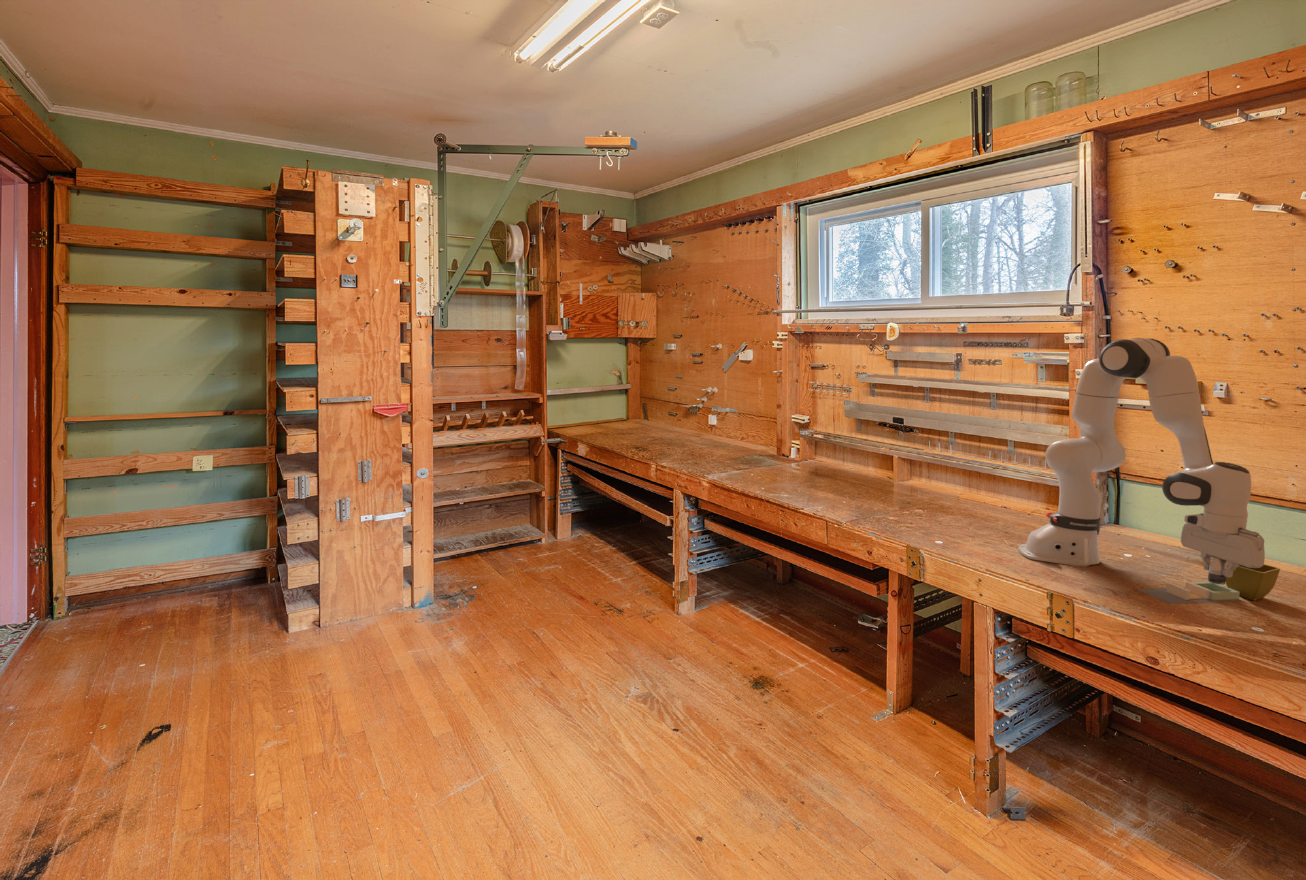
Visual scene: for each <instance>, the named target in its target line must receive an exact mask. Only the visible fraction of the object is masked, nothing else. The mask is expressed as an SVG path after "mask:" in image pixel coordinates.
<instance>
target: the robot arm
mask: <svg viewBox="0 0 1306 880" xmlns="http://www.w3.org/2000/svg"><path fill="white" fill-rule="evenodd" d="M1127 378H1128V379H1129V378H1130V379H1139V378H1140V379H1142V380H1143V381H1144V382H1145V384H1146V387H1147V391H1148V392H1147V393H1148V398H1149V399H1148V400H1149V401H1148V402H1149V407H1150V410H1151V413H1152V415H1153V418H1154V420H1155V421H1156V422H1157V423H1158V424H1159V425H1161V426H1163V427H1165V428H1167V429H1168V430H1169V431H1170V432H1172V433H1173V435H1174V436H1176V437H1175V438H1177V442H1178V444H1179V448H1180V453H1181V457H1182V461H1183V470H1180V471H1176V472H1174V473H1171V474H1169V475H1168V476H1167V477H1166V478H1164V480H1163V483H1162V486H1161V487H1162V488H1161V489H1162V492H1163V495H1164V496H1165V498H1166V499H1167V500H1168V501H1169V502H1171V503H1173V504H1175V505H1179V506H1185V507H1187V506H1189V507H1190V506H1201V507H1203V513H1197V514H1185V515H1184V517H1183V521H1184V522H1185V523H1184V524H1183V526H1182V530H1181V534H1180V543H1181V545H1182V546H1183V547H1184V548H1186V549H1190V550H1192V551H1195V552H1200V558H1201V561H1202V562H1203V569H1204V570H1205V571H1207V572H1209V566H1210V558H1211V556H1214V557H1217V558H1220V559H1223V560H1227V565H1229V566H1228V567H1227V568H1226V569H1222V573H1221V575H1222V576H1225V577H1232V576H1233V571H1234V570H1235V569H1236V568H1237V567H1238V566H1239V565H1242V566H1245V567H1248V568H1260V567H1262V566H1263V565H1264V564H1265V553H1266V551H1265V538H1263V535H1261V533H1259V532H1257V531H1252V530H1250V529H1247V526H1248V525H1247V523H1248V518H1249V517H1248V516H1249V513H1248V504H1249V502H1250V500H1251V494H1252V493H1251V492H1252V476H1251V473H1250V471H1249V469H1247V468H1246V467H1243V466H1241V465H1239V464H1235V463H1231V462H1226V461H1217V462H1213V457H1212V453H1211V449H1210V445H1209V440H1208V435H1207V431H1206V428H1205V425H1204V423H1205V422H1204V418H1203V410H1202V402H1201V395H1200V387H1199V384H1198V380H1197V379H1198V378H1197V377H1196V372H1195V371H1194V367H1193V366H1192V363H1191V361H1190V360H1189V359H1188V358H1186V357H1184V356H1181V355H1180V356H1179V355H1171V351H1170V349H1169V348H1168V346H1167V345H1166V344H1165V343H1164V342H1163V341H1160V340H1159V339H1154V338H1146V337H1145V338H1144V337H1133V338H1127V339H1118V340H1115V341H1112V342H1109V343H1108V344H1107V345H1105V346H1104V347H1103V348H1102V350H1101V352H1100V354H1099V358H1095V359H1091V360H1089V361H1087V362H1086V363H1085V364H1084V366H1083V369H1082V371H1081V373H1080V376H1079V379H1078V383H1077V386H1076V390H1075V395H1074V399H1073V407H1072V411H1071V417H1072V420H1073V422H1075V423H1077V425H1078V428H1079V433H1080V435H1079V437H1078V438H1074V437H1073V438H1064V439H1061V440H1057V441H1055V442H1052V443H1051V444H1049V445H1048V446H1047V447H1046V450H1045V456H1044V458H1045V462H1046V464H1047V466H1048V467H1049V468H1050V470H1051V471H1053V472H1054V474H1055V475H1056V479H1057V482H1058V486H1059V495H1058V496H1059V498H1058V509H1057V511H1056V512H1054V513H1053V512H1052V511H1050V510H1049V511H1048V510H1047V512H1046V513H1045V516H1046V517H1047V519H1049V523H1047V524H1045V525H1042V526H1041V527H1038V528H1037V529H1034V530H1032V531H1031V532H1030V533H1029V535H1028V538H1027V540H1026V543H1024V544H1023V543H1022V544H1020V545H1019V546H1018V548H1017V549H1018V552H1019V553H1020V554H1021V555H1022V556H1024V557H1025V558H1028V559H1030V560H1033V561H1039V562H1049V563H1054V564H1060V565H1061V564H1062V565H1068V566H1069V565H1070V566H1075V567H1088V566H1092V565H1093V566H1094V565H1098V564H1100V563H1101V558H1100V553H1099V539H1098V536H1099V534H1100V530H1101V517H1100V513H1101V505H1102V493H1101V491H1100V490H1099V489H1098V488H1097V487H1096V486H1095V485H1094V482H1093V476H1092V475H1093V473H1105V472H1107V471H1112V470H1114V469H1117V468H1119V467H1121V466H1122V465H1123V464H1124V462H1125V460H1126V449H1125V447H1124V445H1123V444H1122V443H1121V442H1120V441H1119V438H1118V437H1117V433H1116V426H1115V424H1116V423H1115V422H1116V421H1115V420H1116V414H1117V413H1116V412H1117V408H1118V402H1119V397H1120V393H1121V386H1122V385H1123V382H1124V381H1125V380H1126V379H1127Z"/></svg>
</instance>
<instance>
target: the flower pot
mask: <svg viewBox="0 0 1306 880" xmlns="http://www.w3.org/2000/svg"><path fill="white" fill-rule="evenodd" d="M1228 566H1229V565H1228ZM1228 566H1227V567H1228ZM1280 571H1281V568H1280V567H1277V566H1272V565H1270V564H1269V565H1268V564H1265V563H1264V565H1263V566H1262V567H1260V568H1248V567H1245V566H1242V565H1239V566H1238V567H1237V568H1236V569H1235V570H1234V571H1233V576H1232V577H1226V581H1225V585H1226V587H1228V588H1230V589H1233V590H1236V591H1238V592H1240V594H1239V598H1240V597H1242V598H1243V599H1247V600H1249V601H1258V600H1260V599H1263V598H1265V597H1266V596H1267V595H1269V594H1270V592H1271V591H1272V590H1273V589H1274V587H1275V585H1276V582H1277V580H1278V578H1279V574H1280Z"/></svg>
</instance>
